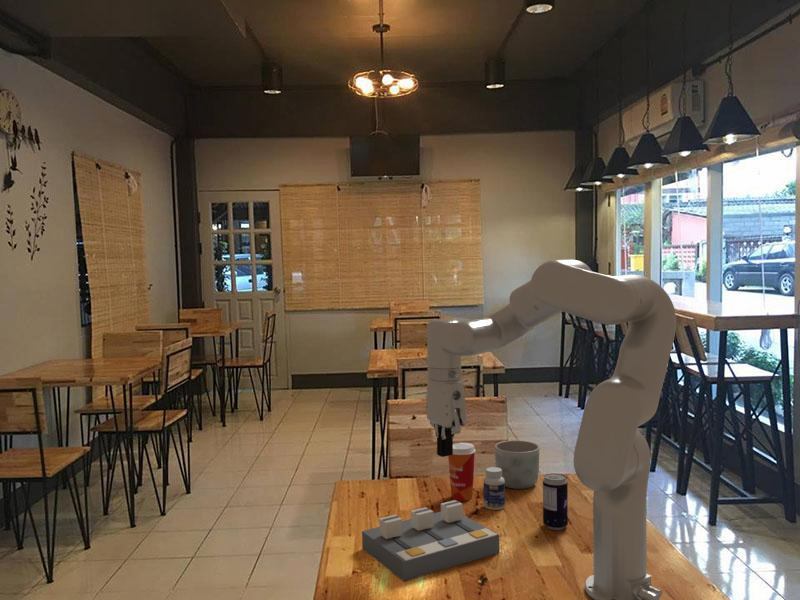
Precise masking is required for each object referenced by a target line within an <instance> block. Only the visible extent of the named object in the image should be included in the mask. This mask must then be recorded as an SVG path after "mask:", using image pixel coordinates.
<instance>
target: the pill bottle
mask: <svg viewBox="0 0 800 600" xmlns="http://www.w3.org/2000/svg"><path fill="white" fill-rule="evenodd" d="M485 475H486V476H485V477H484V478H483V506H484V508H485V509H488V510H492V511H498V510H503V509H504V508H505V506H506V495H505V494H506V489H505V488H506V487H505V480H504V478H503V477H501V476H502V469H500V468H497V467H496V466H495V467H494V466H490V467H487V468H486V469H485Z"/></svg>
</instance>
